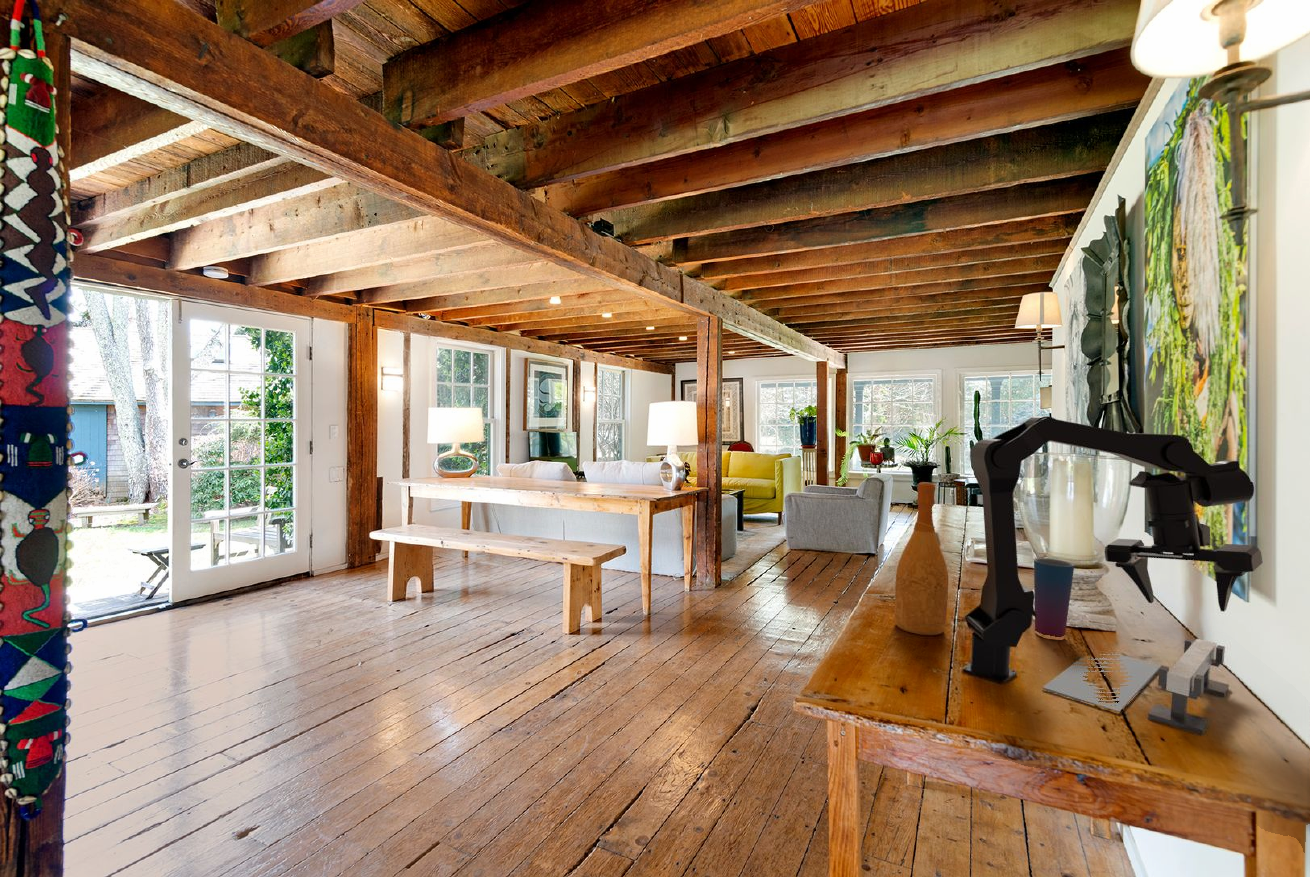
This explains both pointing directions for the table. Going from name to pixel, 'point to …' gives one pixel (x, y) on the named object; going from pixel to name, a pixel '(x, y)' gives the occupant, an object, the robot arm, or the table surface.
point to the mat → (1080, 690)
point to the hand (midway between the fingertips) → (1186, 606)
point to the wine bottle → (922, 574)
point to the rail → (1191, 667)
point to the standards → (1178, 709)
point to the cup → (1052, 595)
